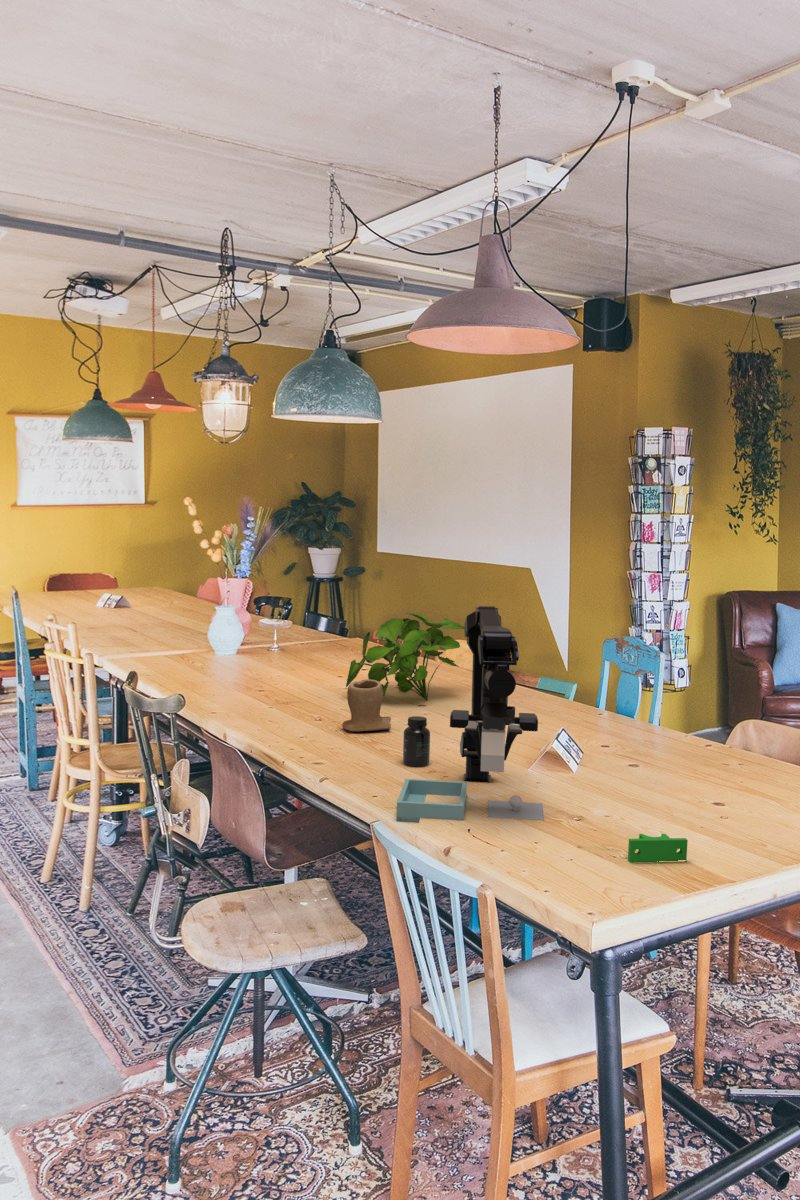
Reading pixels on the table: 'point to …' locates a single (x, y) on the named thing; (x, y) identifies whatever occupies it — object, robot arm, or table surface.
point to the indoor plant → (405, 652)
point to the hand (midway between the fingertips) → (492, 759)
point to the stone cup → (366, 707)
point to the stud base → (515, 809)
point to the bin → (415, 807)
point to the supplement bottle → (416, 742)
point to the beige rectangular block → (492, 750)
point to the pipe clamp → (657, 849)
